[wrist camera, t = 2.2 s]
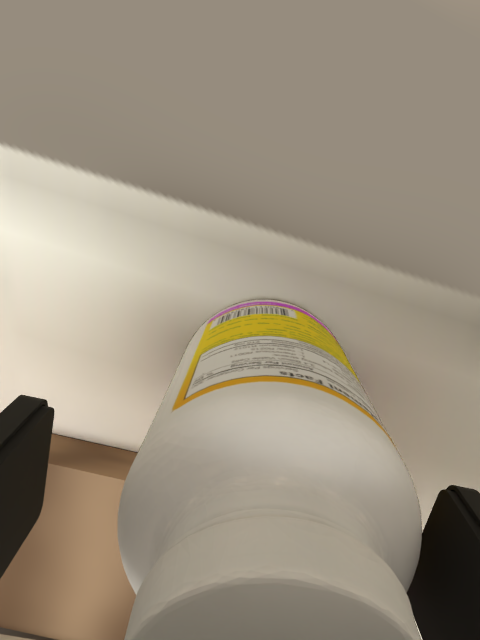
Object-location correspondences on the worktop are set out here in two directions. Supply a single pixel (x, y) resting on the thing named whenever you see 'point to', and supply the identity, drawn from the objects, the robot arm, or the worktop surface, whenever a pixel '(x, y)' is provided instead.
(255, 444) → the supplement bottle
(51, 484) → the shelf
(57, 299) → the worktop surface
